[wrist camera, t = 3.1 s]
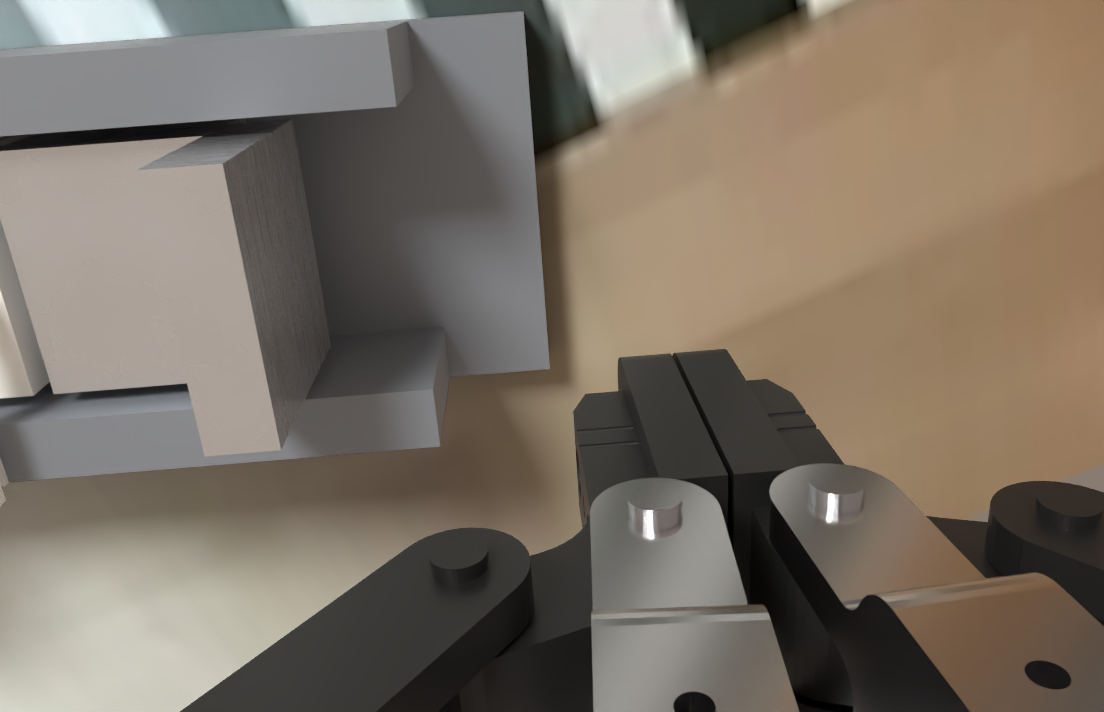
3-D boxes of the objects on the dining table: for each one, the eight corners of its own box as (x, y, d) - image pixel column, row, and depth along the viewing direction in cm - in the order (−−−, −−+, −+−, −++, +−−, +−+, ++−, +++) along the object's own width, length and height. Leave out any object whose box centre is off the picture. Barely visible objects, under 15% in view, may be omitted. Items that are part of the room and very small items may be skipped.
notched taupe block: (53, 129, 24) (-139, 190, 17) (305, 110, 24) (222, 163, 17) (111, 342, 26) (-36, 476, 19) (341, 323, 26) (281, 450, 19)
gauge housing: (-462, 83, 24) (-974, 136, 16) (522, 11, 24) (532, 25, 16) (-301, 422, 28) (-644, 610, 19) (548, 353, 28) (566, 508, 20)
